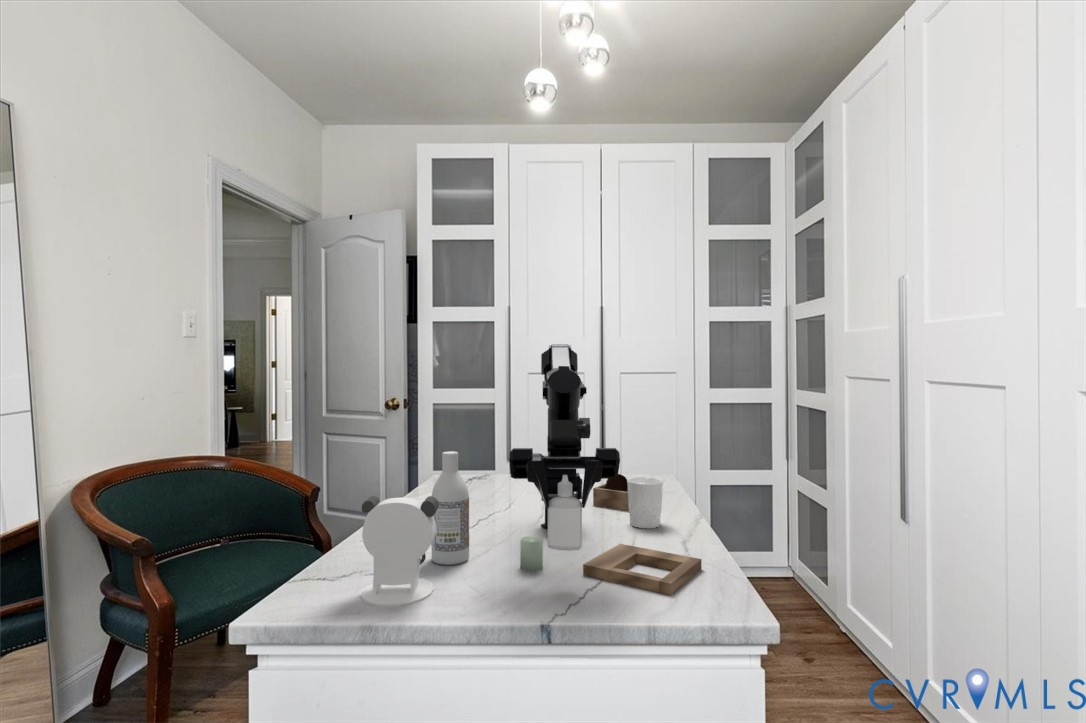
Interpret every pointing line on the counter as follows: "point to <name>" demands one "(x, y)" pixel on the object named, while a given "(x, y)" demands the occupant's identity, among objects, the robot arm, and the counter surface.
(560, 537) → the eye dropper bottle
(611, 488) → the dark brown rounded piece
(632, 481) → the white cup
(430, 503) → the panda figurine
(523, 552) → the pale green rounded cylinder
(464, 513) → the bath foam
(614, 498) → the walnut watch frame
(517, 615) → the counter surface
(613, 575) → the walnut square frame
